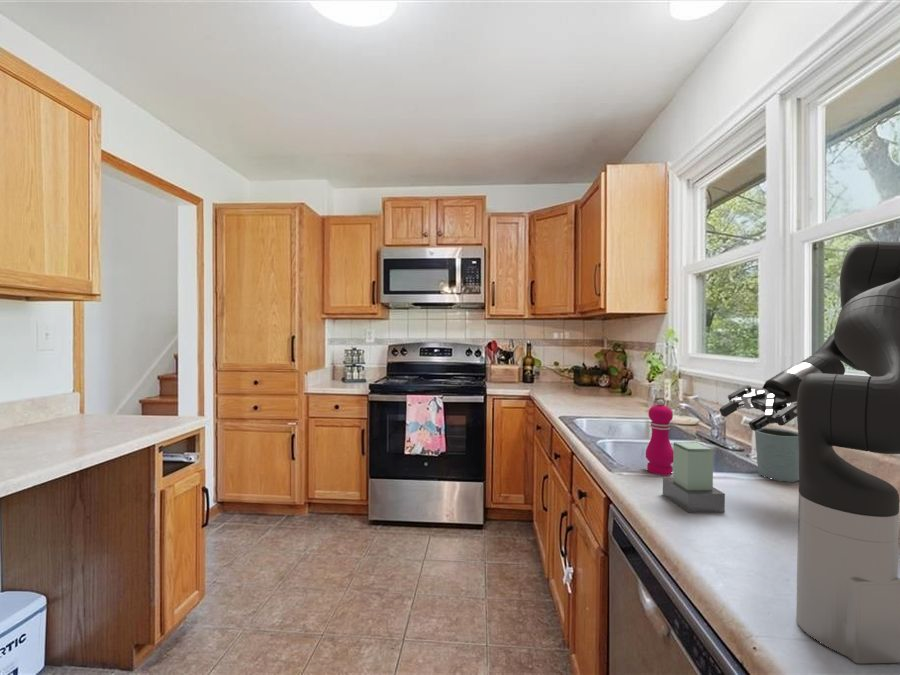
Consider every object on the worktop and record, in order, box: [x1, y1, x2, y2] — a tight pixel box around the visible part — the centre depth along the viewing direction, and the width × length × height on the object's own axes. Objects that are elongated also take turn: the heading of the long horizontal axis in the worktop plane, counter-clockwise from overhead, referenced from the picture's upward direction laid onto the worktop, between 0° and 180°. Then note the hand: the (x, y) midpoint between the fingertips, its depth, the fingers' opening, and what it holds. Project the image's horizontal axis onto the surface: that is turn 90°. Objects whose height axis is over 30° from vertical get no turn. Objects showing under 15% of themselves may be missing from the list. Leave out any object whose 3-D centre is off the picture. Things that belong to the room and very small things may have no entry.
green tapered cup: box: [754, 427, 799, 483], centre depth 112 cm, size 10×10×12 cm
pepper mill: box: [645, 399, 674, 476], centre depth 115 cm, size 7×7×20 cm
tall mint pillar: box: [672, 441, 714, 490], centre depth 94 cm, size 6×6×9 cm
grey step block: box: [662, 477, 726, 514], centre depth 94 cm, size 10×8×8 cm
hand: (735, 420), depth 96 cm, fingers open, 8 cm apart
